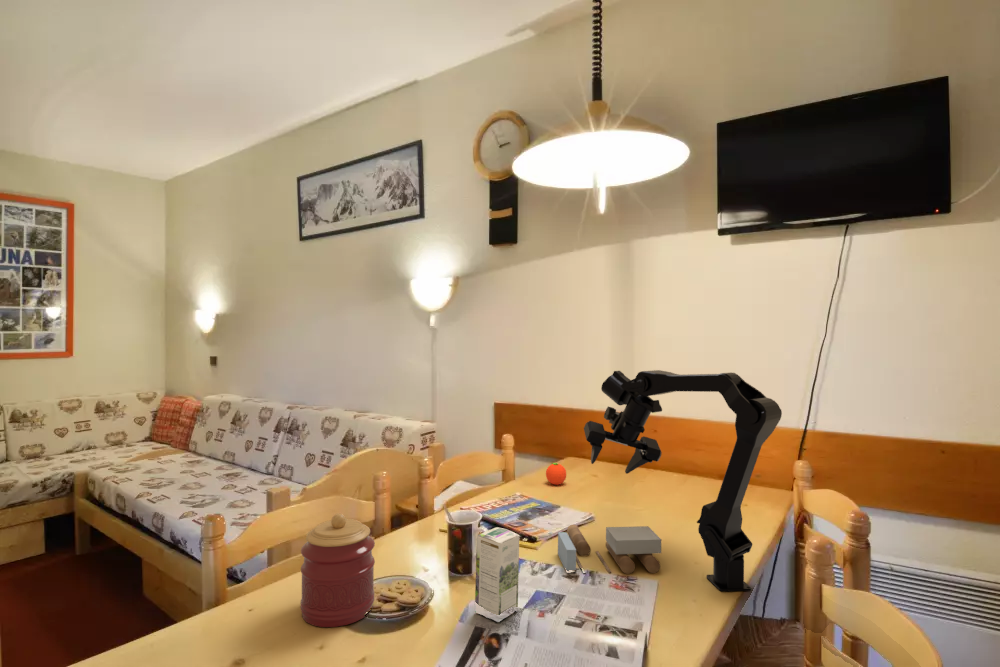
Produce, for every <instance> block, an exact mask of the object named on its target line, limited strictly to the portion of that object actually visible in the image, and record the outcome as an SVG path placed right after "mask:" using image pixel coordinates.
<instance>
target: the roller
mask: <svg viewBox="0 0 1000 667" xmlns="http://www.w3.org/2000/svg"><path fill="white" fill-rule="evenodd" d="M566 532H567V534H568V536H569V538H570V539H571V541H572V543H573V545H574V547H575V549H576V552H577V553H578V555H579V556H589V555H590V553H591V550H592V549H591V546H590V545H589V543H588V542H587V540H586V538H585V536H584V535H583V533H582V532H581V530H580V528H579V526H578V525H576V524H571V525H569V526H567V529H566Z"/></svg>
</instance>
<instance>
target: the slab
mask: <svg viewBox="0 0 1000 667" xmlns="http://www.w3.org/2000/svg"><path fill="white" fill-rule="evenodd" d="M606 541H607V542H608V544H609V545H610V547H611V548H612V549H613V551H614V552H615V554H628V555H635V554H652V555H654V554H662V538H661V537H659V536H658V534H656V533H655V531H654V530H652V528H651V527H650V526H649V525H648V526H647V525H643V526H641V525H640V526H607V527H605V542H606Z"/></svg>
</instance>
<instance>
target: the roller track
mask: <svg viewBox="0 0 1000 667" xmlns="http://www.w3.org/2000/svg"><path fill="white" fill-rule="evenodd" d="M605 549H607V551H608V553H609V554H610V555H611V557H612V558H613V560H614V561H615V563H616V564H617V565H618V567H619V568H620V570H621V571H622V572H623V574H627V575H629V574H632V573H633V572H634V571H635V568H636V564H635V562H634V561H633V559H631V557H630V556H629V554H615V552H614V551H613V549H612V548H611V547H610V545H609V544H608V542H607V541H606V540H605ZM595 554H596V555H597V557H598V558H599V560H600V562H601V563H602V565H603V566H604V568H605V569H606V571H607V573H608V572H609V573H608V574H612V570H611V569H610V567H609V565H608V564H607V563H606V561H605V559H604V558H603V556H602V555H601V553H600V552H599V550H596V551H595ZM634 555H635V557H636V558H637V559H638V560H639V561H640V562H641V564H642V565H643V567H644V569H646V570H647V571H648V573H650V574H655V573H658V571H660V569H661V568H660V567H661V563H660V561H659V560H658V559H657V558H656V557H655V555H654V554H634ZM577 563H578V564H577ZM576 564H577V565H578V567H579V569H580V568H583V569H584V567H583V564H582V563H581V561H580V560H579V558H578V556H577V554H576Z"/></svg>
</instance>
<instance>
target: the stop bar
mask: <svg viewBox="0 0 1000 667" xmlns="http://www.w3.org/2000/svg"><path fill="white" fill-rule="evenodd" d="M557 555H558V558H559V560H560V562H561V564H562V567H563V568H564V567H565V568H566V570H567V571H569V570H576V571H577V562H576V555H577V549H576V548H575V546H574V544H573V542H572V540H571V539H570V537H569V535H568V533H567V531H565V532H562V531H561V532H559V531H558V533H557Z"/></svg>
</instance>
